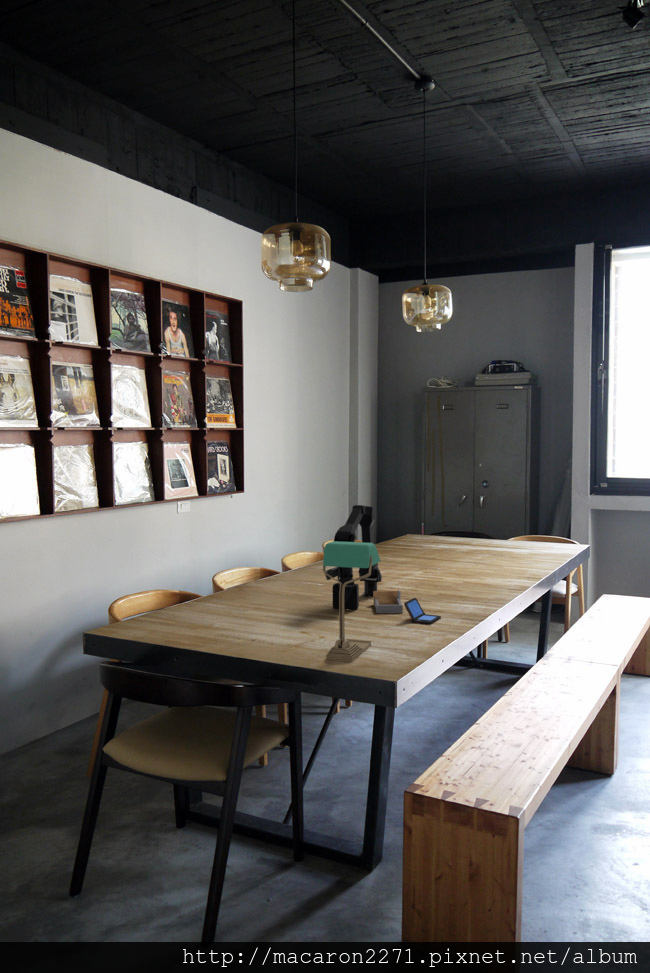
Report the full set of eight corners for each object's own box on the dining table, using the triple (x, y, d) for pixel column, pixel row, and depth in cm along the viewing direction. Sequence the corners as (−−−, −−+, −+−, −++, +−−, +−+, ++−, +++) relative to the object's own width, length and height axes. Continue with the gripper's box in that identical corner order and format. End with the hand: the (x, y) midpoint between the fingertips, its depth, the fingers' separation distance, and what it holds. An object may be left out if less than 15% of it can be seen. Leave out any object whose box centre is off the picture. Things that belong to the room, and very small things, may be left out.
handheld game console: (430, 625, 276) (430, 605, 275) (403, 622, 281) (403, 603, 281) (442, 618, 287) (442, 599, 287) (415, 615, 292) (415, 596, 292)
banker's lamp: (315, 658, 234) (314, 546, 232) (338, 641, 254) (337, 538, 252) (363, 663, 229) (362, 548, 227) (383, 645, 248) (382, 539, 246)
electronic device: (357, 610, 301) (357, 585, 300) (332, 609, 303) (332, 584, 302) (358, 608, 305) (358, 583, 305) (334, 607, 307) (334, 582, 307)
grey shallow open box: (374, 605, 310) (374, 598, 310) (398, 605, 310) (398, 598, 310) (377, 613, 296) (377, 605, 296) (402, 612, 296) (402, 605, 296)
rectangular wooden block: (400, 603, 312) (400, 590, 311) (400, 604, 310) (400, 591, 310) (373, 603, 311) (373, 590, 311) (373, 604, 310) (373, 591, 309)
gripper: (325, 557, 312) (325, 595, 313) (325, 565, 294) (326, 604, 294) (352, 557, 312) (352, 594, 313) (354, 564, 294) (354, 604, 295)
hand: (345, 599), depth 304 cm, fingers open, 9 cm apart
